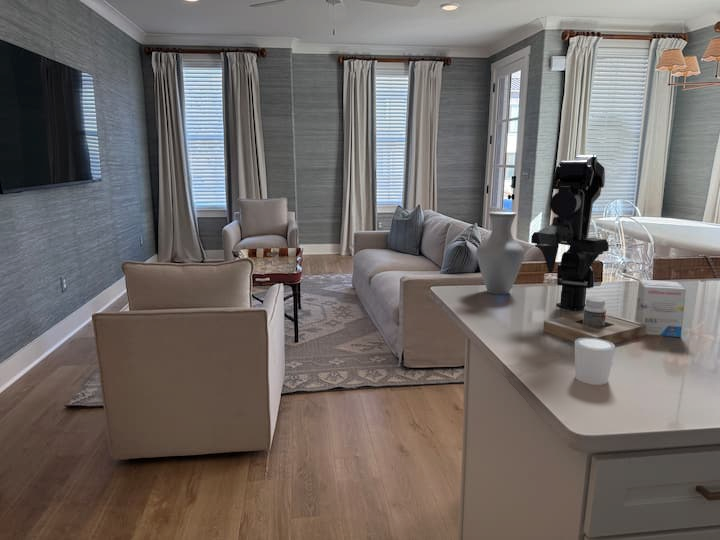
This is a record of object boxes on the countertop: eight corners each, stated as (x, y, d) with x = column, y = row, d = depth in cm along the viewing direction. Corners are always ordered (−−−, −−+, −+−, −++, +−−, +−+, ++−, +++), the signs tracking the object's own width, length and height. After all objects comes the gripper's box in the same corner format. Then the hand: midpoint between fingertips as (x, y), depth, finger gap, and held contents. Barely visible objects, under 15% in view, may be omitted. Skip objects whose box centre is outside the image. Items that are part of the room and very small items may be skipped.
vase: (474, 286, 169) (477, 210, 164) (519, 287, 166) (524, 210, 161) (475, 296, 155) (478, 214, 150) (524, 299, 152) (529, 215, 147)
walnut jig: (592, 320, 131) (593, 310, 131) (645, 335, 119) (646, 324, 119) (543, 331, 123) (543, 320, 122) (594, 349, 111) (595, 337, 110)
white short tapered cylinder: (565, 372, 99) (567, 337, 97) (599, 370, 99) (602, 336, 98) (583, 387, 92) (586, 350, 91) (619, 385, 93) (623, 349, 91)
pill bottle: (606, 337, 119) (609, 302, 117) (584, 336, 119) (587, 301, 118) (600, 330, 123) (604, 297, 121) (580, 329, 124) (582, 296, 122)
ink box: (672, 327, 126) (678, 280, 123) (681, 338, 118) (687, 288, 115) (633, 323, 128) (638, 278, 126) (639, 334, 121) (644, 285, 118)
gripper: (517, 211, 129) (513, 272, 132) (580, 218, 113) (574, 287, 116) (548, 209, 134) (544, 268, 137) (613, 215, 118) (606, 281, 121)
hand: (565, 275), depth 128 cm, fingers open, 9 cm apart
